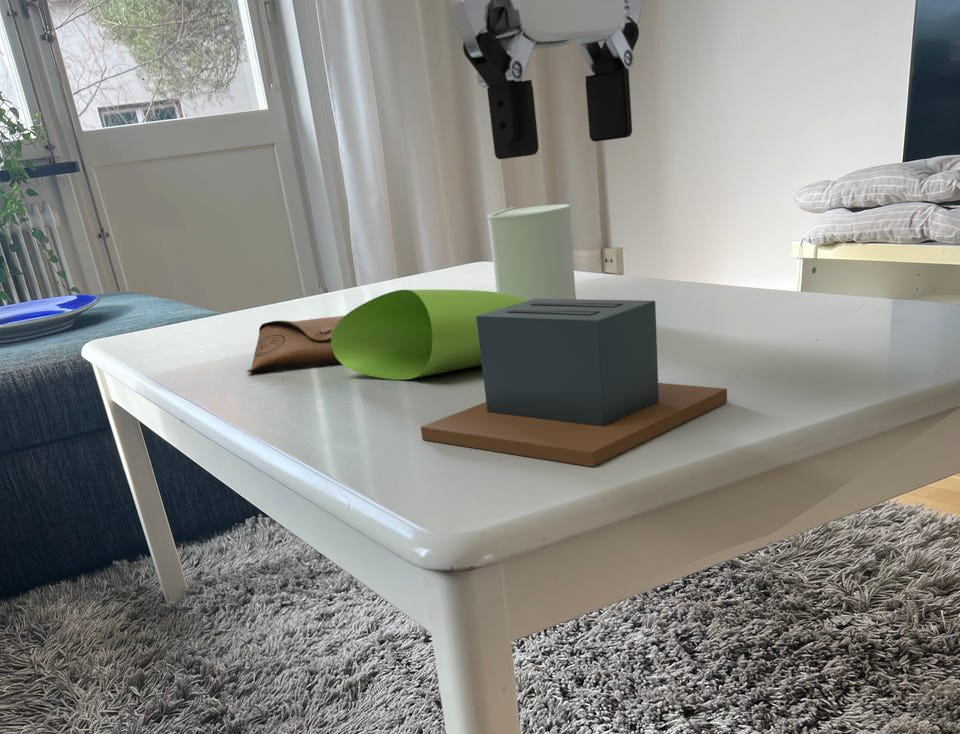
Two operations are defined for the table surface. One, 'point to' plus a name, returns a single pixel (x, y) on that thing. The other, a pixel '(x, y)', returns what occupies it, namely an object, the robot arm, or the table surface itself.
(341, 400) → the table surface
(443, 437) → the mat
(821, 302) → the table surface
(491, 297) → the green curved sheet
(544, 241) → the can
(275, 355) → the sunglasses case
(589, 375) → the toaster
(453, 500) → the table surface
